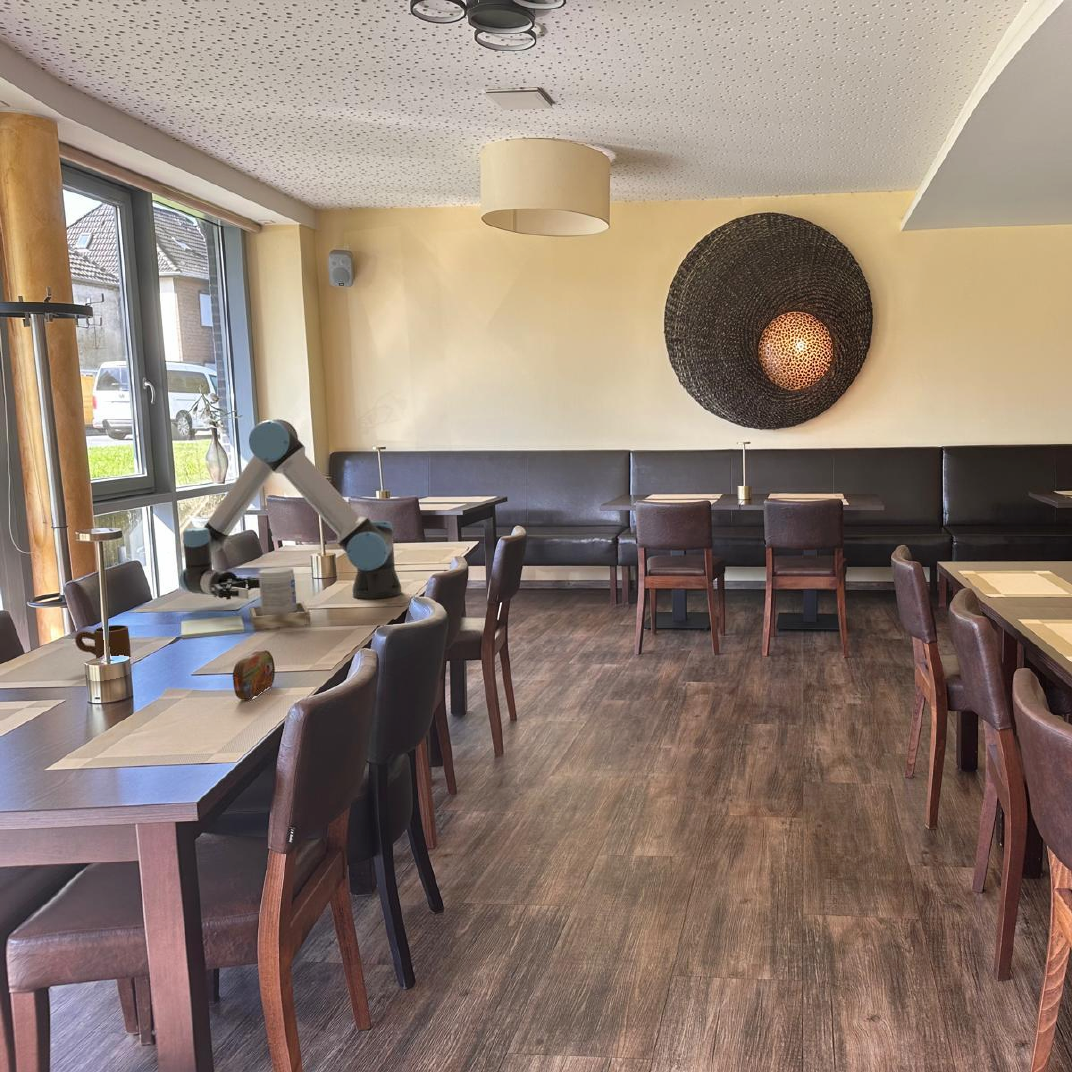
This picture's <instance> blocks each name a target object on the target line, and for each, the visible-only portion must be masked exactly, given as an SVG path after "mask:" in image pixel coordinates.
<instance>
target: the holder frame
mask: <svg viewBox="0 0 1072 1072" xmlns="http://www.w3.org/2000/svg"><path fill="white" fill-rule="evenodd" d="M296 605H297V612H296V613H286V614H276V615H265V616H262V609H261V605H258V606H250V607H249V614H250V615H249V616H250V622H251V624H252V625H251V626H252V628H253V630H254V629H260V630H264V629H263V628H270V629H278V628H277V627H280V628H287V627H286V626H290V627H296V626H295V625H300V626H306V625H305V624H310V625H311V614H310V613H311V612H310V611H309V608H308V607H307V605H306V604H305V602H304V601H303V602H301V601H299V602H296Z"/></svg>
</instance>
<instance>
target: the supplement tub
mask: <svg viewBox="0 0 1072 1072" xmlns="http://www.w3.org/2000/svg"><path fill="white" fill-rule="evenodd" d="M258 573H259V574H258V578H259V584H260V588H259V595H260V606H261V609H262V616H265V615H276V614H286V613H296V612H297V605H296V603H297V594H296V593H297V592H296V591H297V590H296V583H295V582H296V579H295V573H294V568H292V567H272V568H266V569H261V570H260V571H258Z"/></svg>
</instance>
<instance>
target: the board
mask: <svg viewBox="0 0 1072 1072" xmlns="http://www.w3.org/2000/svg"><path fill="white" fill-rule="evenodd" d="M180 627H181V628H180V633H181V634H180V636H181V637H180V639H182V640H183V639H192V638H202V637H210V636H220V635H221V636H223V635H230V634H241V633H245V626H244V622H243V618H242V616H241V615H236V616H234V615H233V616H225V617H213V618H203V619H191V620H182V621H181V626H180Z"/></svg>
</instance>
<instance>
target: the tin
mask: <svg viewBox="0 0 1072 1072" xmlns="http://www.w3.org/2000/svg"><path fill="white" fill-rule="evenodd" d="M275 669H276V667H275V662H274V658H273V655H272V654H271V652H269V651H268V650H258V651H253V652H252V653H250V654H249V655H247V656H245V657H244V658H243V659H240V660H238V661H237V662H236V663H235V666H234V667H233V671H232V681H233V682H232V683H233V688H234V693H235V696H236V697H237V698H238V699H239V700H242V699H248V700H252V698H253V697H254V696H258V695H259V694H260V693H261V692H263V691H264V690H265V689H267V688H268V687H271V688H272V686H273V683H274V680H275V675H276V670H275ZM258 697H259V696H258ZM252 701H253V700H252Z"/></svg>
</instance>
